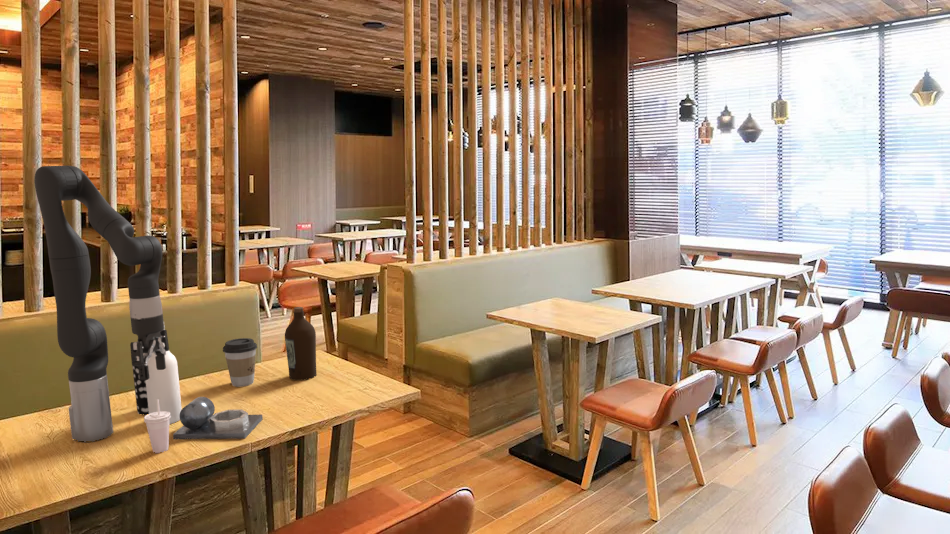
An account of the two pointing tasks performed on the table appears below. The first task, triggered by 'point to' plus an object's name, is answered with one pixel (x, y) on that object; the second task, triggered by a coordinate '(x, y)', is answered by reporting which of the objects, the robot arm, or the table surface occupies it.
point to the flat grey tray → (214, 422)
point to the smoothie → (158, 429)
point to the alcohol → (164, 387)
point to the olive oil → (301, 347)
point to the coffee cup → (240, 360)
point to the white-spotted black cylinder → (140, 392)
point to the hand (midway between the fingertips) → (153, 374)
